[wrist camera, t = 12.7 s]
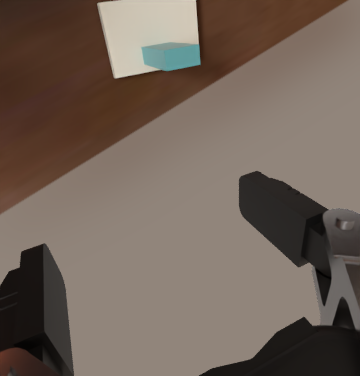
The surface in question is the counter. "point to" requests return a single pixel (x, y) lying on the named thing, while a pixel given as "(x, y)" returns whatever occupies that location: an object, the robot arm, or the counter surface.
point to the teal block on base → (150, 35)
